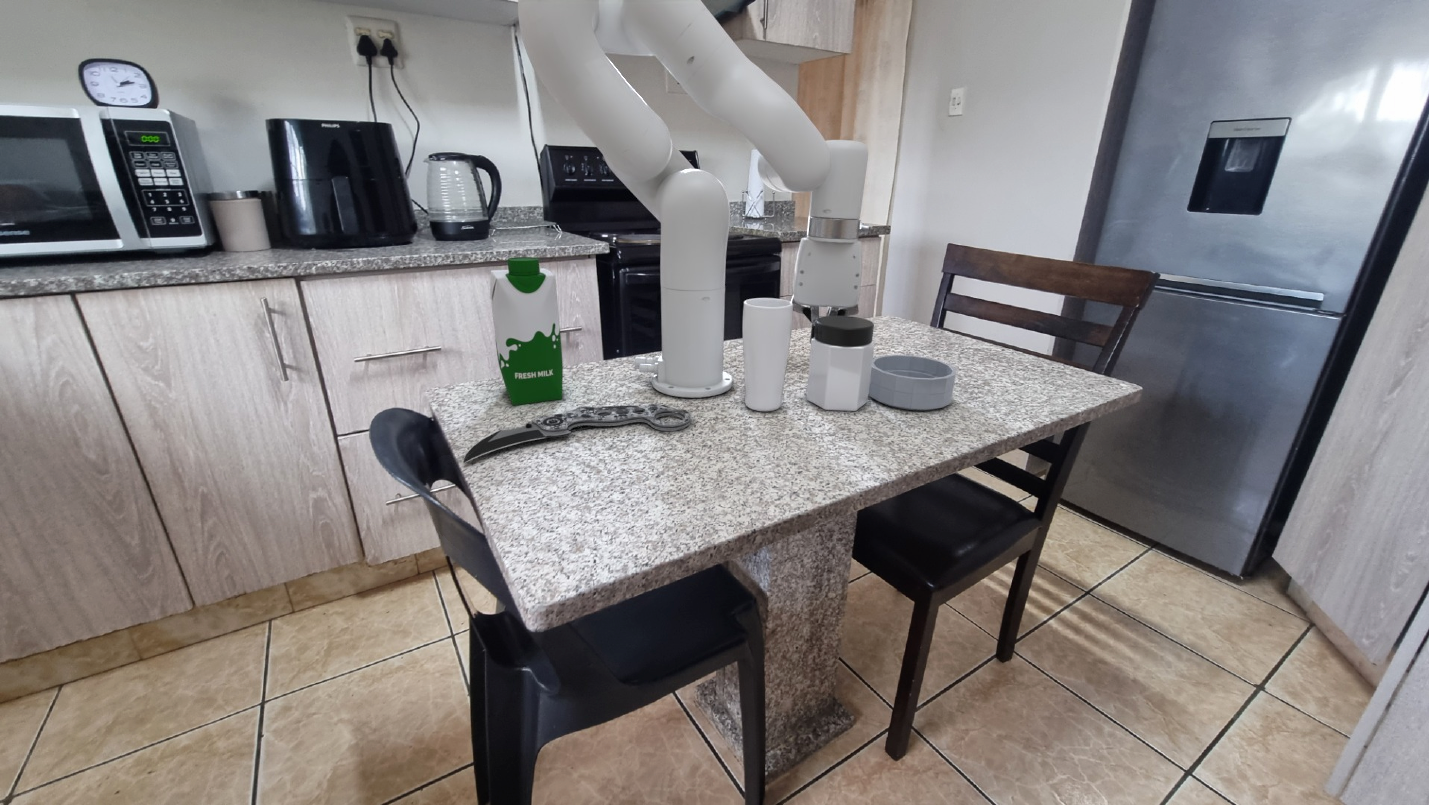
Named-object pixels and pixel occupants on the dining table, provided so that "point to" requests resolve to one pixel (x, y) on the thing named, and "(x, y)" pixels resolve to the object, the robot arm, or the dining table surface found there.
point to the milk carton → (527, 331)
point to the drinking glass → (766, 350)
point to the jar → (840, 363)
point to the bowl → (912, 382)
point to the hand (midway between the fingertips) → (819, 348)
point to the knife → (580, 424)
